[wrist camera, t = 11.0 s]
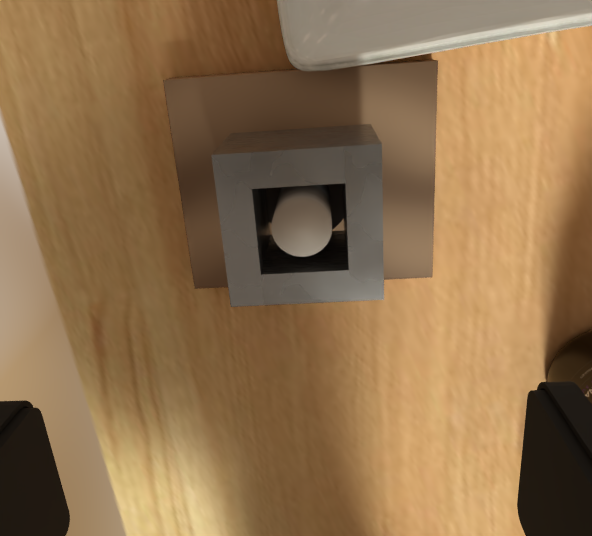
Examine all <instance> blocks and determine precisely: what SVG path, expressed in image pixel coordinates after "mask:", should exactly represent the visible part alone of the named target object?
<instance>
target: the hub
mask: <svg viewBox="0 0 592 536" xmlns="http://www.w3.org/2000/svg"><path fill="white" fill-rule="evenodd" d="M211 156H212V164H213V172H214V180H215V187H216V195H217V203H218V211H219V218H220V226H221V234H222V242H223V249H224V257H225V265H226V273H227V281H228V288H229V296H230V304H231V307H238V306H259V305H280V304H301V303H323V302H344V301H365V300H384V263H383V187H382V143H381V141H380V140H379V138H378V136H377V134H376V133H375V131H374V129H373V127H372V125H371V124H363V125H348V126H333V127H318V128H303V129H288V130H273V131H258V132H243V133H230V135H229V136H228V137H227V138H226V139H225V140H224V141H223V142H222V144H221V145H220V146H219V147H218V148H217V149H216V150H215V151H214V153H213V154H212V155H211ZM326 184H342V195H343V219H344V230H342V231H332V234H331V237H330V240H329V242H328V243H327V245H326V246H325V247H324V248H323V249H322V250H321V251H319V252H318V253H316V254H314V255H311V256H305V257H299V256H293V255H290V254H288V253H286V252H285V251H283V250H282V249H281V248H280V247H279V246H278V245H277V244H276V242H275V240H274V238H273V235H272V234H270V223H269V212H268V202H267V191H266V188H276V187H292V186H309V185H326Z"/></svg>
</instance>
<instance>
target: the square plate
mask: <svg viewBox="0 0 592 536" xmlns="http://www.w3.org/2000/svg"><path fill="white" fill-rule="evenodd" d="M277 6H278V14H279V20H280V26H281V31H282V36H283V41H284V46H285V50H286V53H287V56H288V59H289V61H290V63H291V64H292V65H293V66H294V67H295V68H297V69H299V70H302V71H326V70H334V69H340V68H347V67H353V66H360V65H367V64H373V63H379V62H385V61H390V60H395V59H401V58H406V57H412V56H417V55H423V54H429V53H435V52H440V51H446V50H452V49H457V48H462V47H468V46H473V45H479V44H485V43H491V42H497V41H503V40H508V39H514V38H520V37H525V36H531V35H536V34H542V33H548V32H554V31H560V30H567V29H573V28H579V27H586V26H592V0H277Z"/></svg>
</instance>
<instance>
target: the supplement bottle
mask: <svg viewBox="0 0 592 536" xmlns="http://www.w3.org/2000/svg"><path fill="white" fill-rule="evenodd" d="M564 381H572V382H575V383H576V384H577V385H578V387H579V388H580V389H581V391H582V392H583V393H584V395H585V396H586V397H587V399H588V400H589V401H590V403H591V404H592V330H591V331H588V332H586V333H583V334H581V335H579V336H577V337H576V338H574V339H573V340H571V341H570V342H569V343H567V344H566V345H565V346H564V347H563V348H562V349H561V350H560V351H559V352H558V354H557V355H556V356H555V358H554V360H553V362H552V364H551V366H550V369H549V372H548V377H547V382H564Z"/></svg>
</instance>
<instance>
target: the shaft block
mask: <svg viewBox="0 0 592 536" xmlns="http://www.w3.org/2000/svg"><path fill="white" fill-rule="evenodd" d="M437 72H438V61H437V60H433V59H430V60H416V61H402V62H388V63H373V64H367V65H360V66H353V67H347V68H340V69H334V70H326V71H302V70H299V69H289V70H275V71H261V72H247V73H233V74H219V75H205V76H191V77H177V78H169V79H166V80H163V82H164V88H165V95H166V101H167V108H168V115H169V121H170V128H171V134H172V141H173V148H174V154H175V161H176V167H177V174H178V181H179V187H180V194H181V200H182V207H183V214H184V220H185V227H186V233H187V240H188V247H189V253H190V260H191V266H192V273H193V280H194V286H195V288H216V287H228V281H227V273H226V265H225V257H224V249H223V242H222V234H221V226H220V218H219V211H218V203H217V195H216V187H215V180H214V172H213V164H212V156H211V155H212V154H213V153H214V151H215V150H216V149H217V148H218V147H219V146H220V145H221V144H222V142H223V141H224V140H225V139H226V138H227V137H228V136H229V135H230V133H243V132H258V131H273V130H288V129H303V128H318V127H333V126H348V125H363V124H371V125H372V127H373V129H374V131H375V133H376V134H377V136H378V138H379V140H380V141H381V143H382V187H383V263H384V280H385V279H406V278H427V277H432V271H433V231H434V191H435V152H436V112H437ZM266 191H267V202H268V212H269V223H270V234H272V235H273V238H274V240H275V242H276V244H277V245H278V246H279V247H280V248H281V249H282V250H283V251H285V252H286V253H288V254H290V255H293V256H299V257H305V256H311V255H314V254H316V253H318V252H319V251H321V250H322V249H323V248H324V247H325V246H326V245H327V243H328V242H329V240H330V237H331V234H332V231H342V230H344V219H343V195H342V184H326V185H309V186H292V187H276V188H266Z"/></svg>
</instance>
